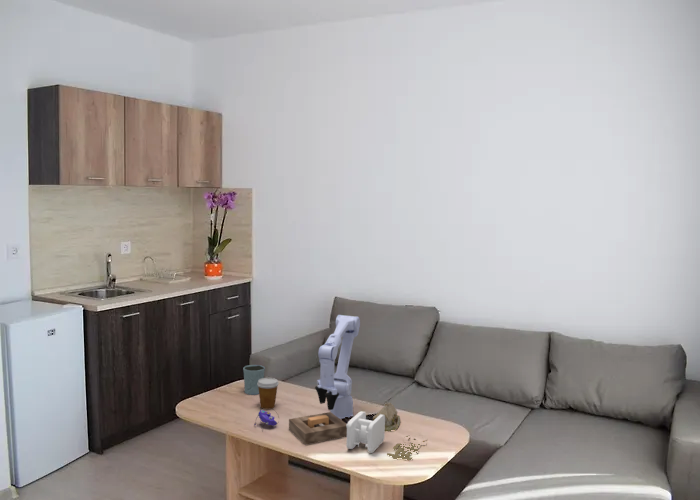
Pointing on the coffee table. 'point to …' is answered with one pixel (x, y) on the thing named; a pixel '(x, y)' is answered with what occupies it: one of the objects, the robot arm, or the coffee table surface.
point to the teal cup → (252, 378)
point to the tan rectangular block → (318, 420)
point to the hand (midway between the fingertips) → (326, 406)
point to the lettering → (403, 451)
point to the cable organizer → (365, 431)
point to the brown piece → (317, 429)
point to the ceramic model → (389, 417)
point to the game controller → (267, 418)
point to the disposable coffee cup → (267, 392)
